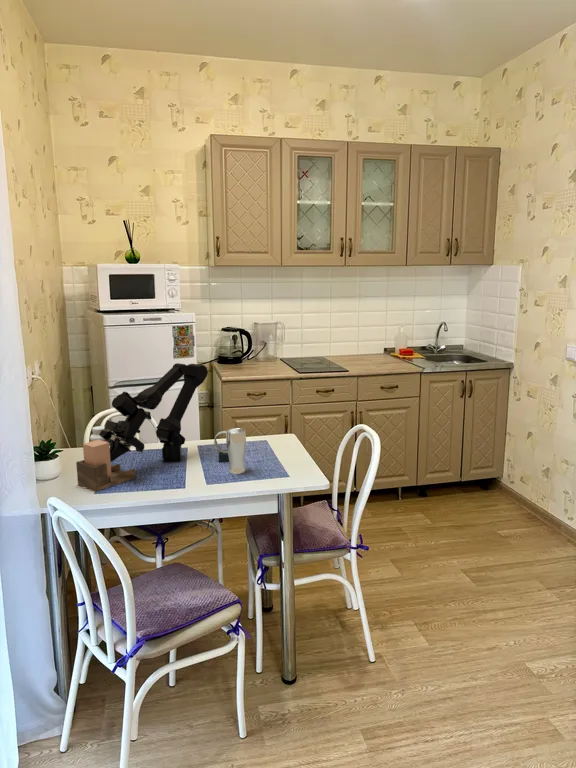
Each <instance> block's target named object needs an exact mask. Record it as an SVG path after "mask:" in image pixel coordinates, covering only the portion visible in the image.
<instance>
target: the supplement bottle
mask: <svg viewBox="0 0 576 768" xmlns="http://www.w3.org/2000/svg"><path fill="white" fill-rule="evenodd" d="M104 428H105V425H104V426H100V425H99V426H93V427H92V429H91V431H92V434H91V435H90V437H89V442H92V441H95V440H101V441H105V442H107V441H106V440H105V439H103V438H102V437H101V436H100V435H99V434H100V432H101V431H102V430H106V429H104ZM108 443H109V442H108ZM109 444H110V443H109Z"/></svg>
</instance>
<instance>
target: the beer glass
mask: <svg viewBox="0 0 576 768" xmlns="http://www.w3.org/2000/svg"><path fill="white" fill-rule="evenodd" d="M226 431H227V434H225V436H226V439H225V445H226V450H227V452H228V456H229V462H228V474H231V475H241V473H242V474H245V473H246V471H247V470H246V465H245V457H246V450H247V436H246V435H247V434H246V429H244V428H241V427H240V428H239V427H236V428H235V427H234V428H229V429H227V430H226Z"/></svg>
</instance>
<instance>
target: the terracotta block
mask: <svg viewBox="0 0 576 768" xmlns="http://www.w3.org/2000/svg"><path fill="white" fill-rule="evenodd" d="M82 450H83V453H82V454H83V460H84V463H86V464H89V465H92V466H97V465H100V464H104V463H106V464H107V475H108V481H109V476H112V475H111V466H112V462H111V461H110V443H108V442H105V441H101V440H95V441H92V442H90V441H88V442H84V443H82Z"/></svg>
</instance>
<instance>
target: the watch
mask: <svg viewBox="0 0 576 768" xmlns="http://www.w3.org/2000/svg"><path fill="white" fill-rule="evenodd" d="M222 434H225V435H226V434H227V430H221V431H219V432H217V434H215V436H214V441H213V444H214V446H215V448H216V450H217V451H218V463H229V456H228V452H227V449H221V446H219V445H220V444H219V443H218V441H217V437H218V436H220V435H222Z"/></svg>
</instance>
